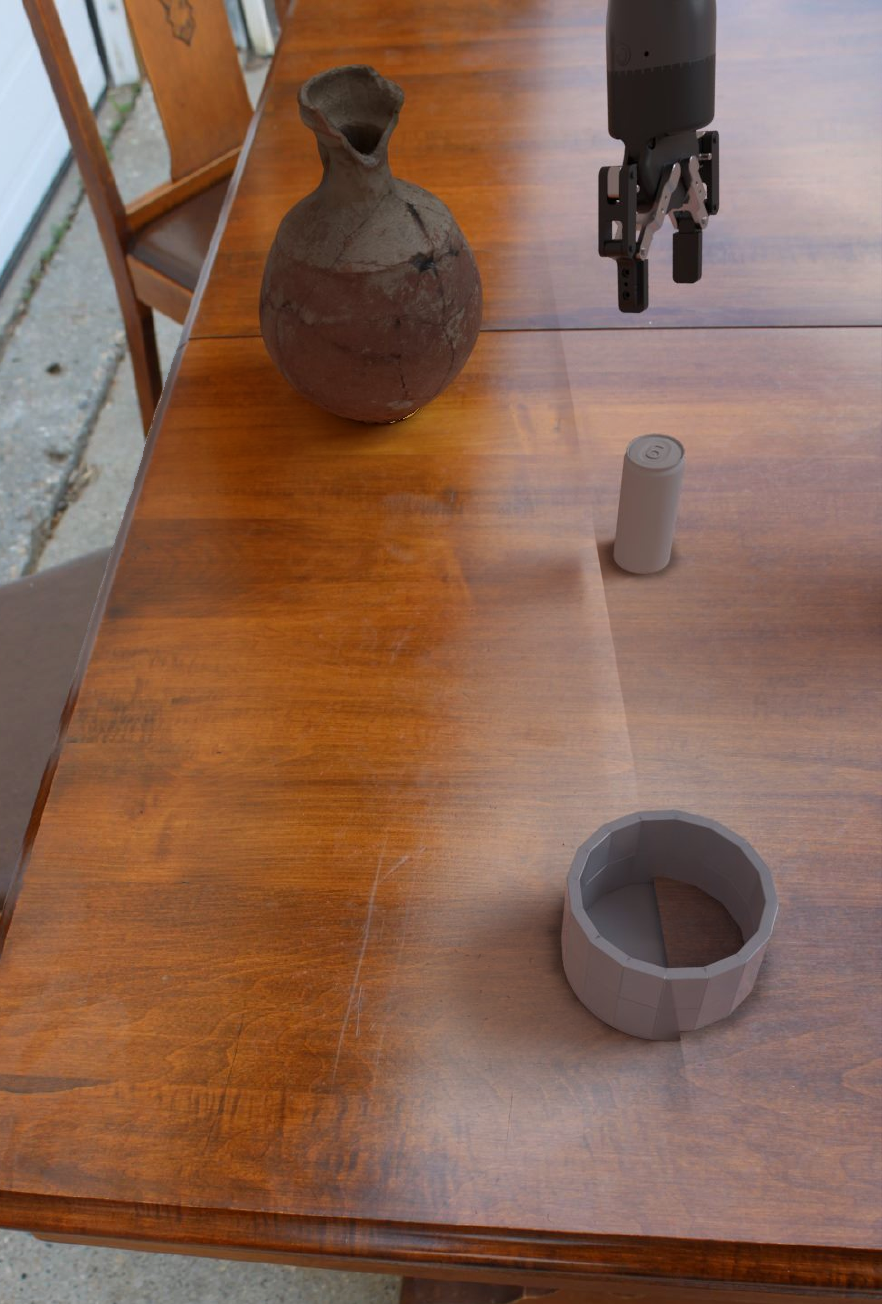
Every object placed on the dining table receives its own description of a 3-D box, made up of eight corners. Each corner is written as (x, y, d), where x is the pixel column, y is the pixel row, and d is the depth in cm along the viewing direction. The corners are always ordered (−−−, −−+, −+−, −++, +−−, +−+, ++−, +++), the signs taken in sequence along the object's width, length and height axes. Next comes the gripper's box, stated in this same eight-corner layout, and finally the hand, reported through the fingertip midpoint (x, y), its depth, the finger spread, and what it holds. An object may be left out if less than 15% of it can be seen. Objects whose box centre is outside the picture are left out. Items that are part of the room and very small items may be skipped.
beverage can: (602, 575, 104) (614, 459, 95) (626, 543, 106) (640, 426, 97) (654, 593, 102) (671, 476, 93) (678, 559, 104) (697, 442, 95)
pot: (735, 876, 84) (755, 805, 78) (771, 1038, 76) (797, 975, 70) (553, 882, 85) (559, 814, 79) (571, 1043, 77) (578, 982, 71)
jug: (347, 493, 114) (310, 169, 91) (234, 396, 126) (177, 87, 103) (526, 405, 120) (535, 79, 97) (402, 320, 132) (384, 11, 109)
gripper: (659, 68, 79) (659, 324, 88) (756, 35, 87) (747, 273, 96) (560, 78, 83) (571, 321, 92) (661, 46, 91) (662, 272, 100)
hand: (661, 296), depth 94 cm, fingers open, 8 cm apart
